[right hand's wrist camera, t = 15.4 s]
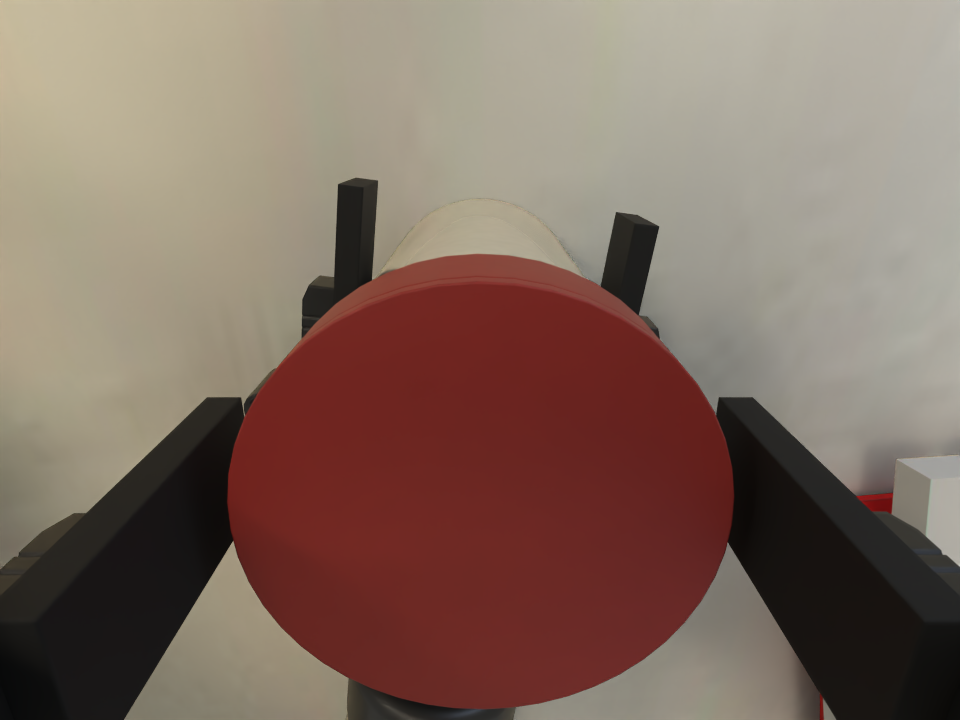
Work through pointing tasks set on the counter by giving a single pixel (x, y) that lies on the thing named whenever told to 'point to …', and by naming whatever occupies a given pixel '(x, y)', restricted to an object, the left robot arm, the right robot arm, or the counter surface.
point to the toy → (922, 507)
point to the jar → (480, 235)
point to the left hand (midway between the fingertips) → (499, 201)
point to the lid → (480, 486)
